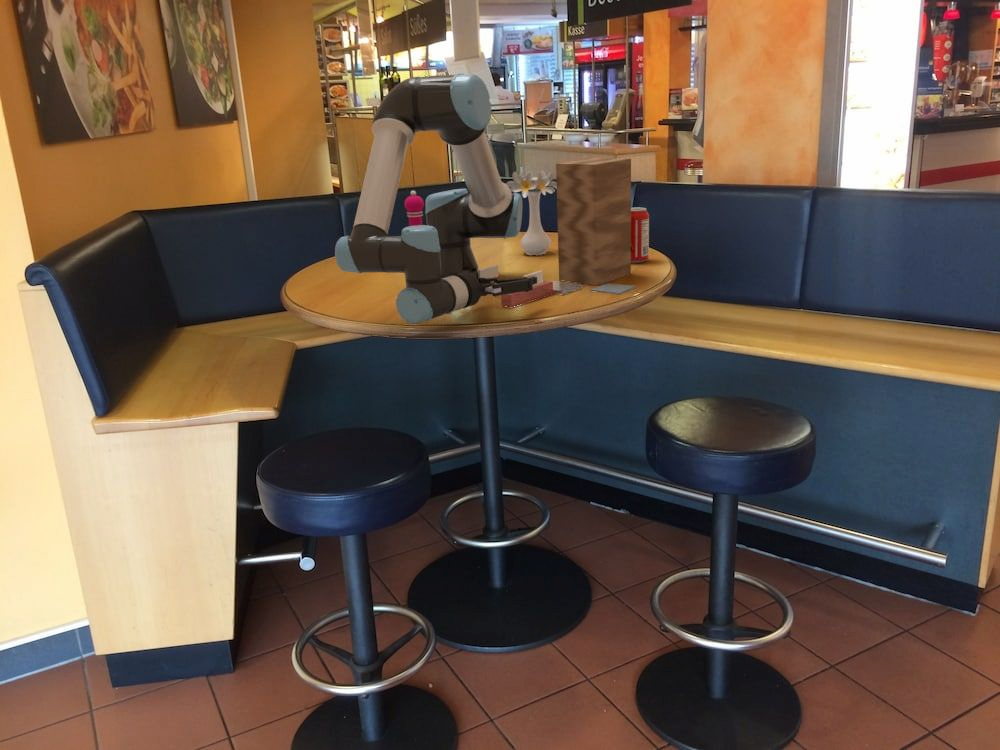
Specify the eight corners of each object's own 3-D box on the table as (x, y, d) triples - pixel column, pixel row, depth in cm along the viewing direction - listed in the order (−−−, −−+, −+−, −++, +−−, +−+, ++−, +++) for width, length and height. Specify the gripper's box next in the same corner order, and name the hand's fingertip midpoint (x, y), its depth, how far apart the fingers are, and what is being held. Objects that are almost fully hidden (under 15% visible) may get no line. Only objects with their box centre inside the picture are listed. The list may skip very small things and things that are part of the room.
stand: (559, 280, 219) (556, 163, 209) (593, 269, 230) (592, 157, 220) (596, 285, 211) (595, 164, 201) (630, 273, 222) (631, 158, 213)
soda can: (648, 264, 233) (648, 210, 228) (619, 264, 234) (619, 211, 230) (648, 258, 240) (649, 206, 235) (621, 258, 242) (621, 207, 237)
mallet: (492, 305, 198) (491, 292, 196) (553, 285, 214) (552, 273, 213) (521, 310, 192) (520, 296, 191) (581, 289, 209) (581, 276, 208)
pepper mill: (428, 255, 261) (423, 191, 254) (405, 256, 261) (399, 192, 255) (430, 251, 268) (425, 188, 261) (408, 252, 268) (403, 189, 262)
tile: (590, 293, 206) (590, 289, 206) (607, 286, 212) (607, 283, 211) (619, 296, 201) (619, 292, 201) (635, 289, 207) (635, 286, 207)
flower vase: (570, 255, 250) (568, 170, 242) (509, 259, 249) (505, 174, 241) (565, 247, 262) (563, 166, 254) (507, 251, 262) (503, 170, 254)
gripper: (418, 302, 190) (480, 283, 205) (501, 316, 174) (561, 295, 189) (416, 269, 187) (478, 253, 202) (500, 281, 172) (561, 262, 187)
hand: (518, 273), depth 196 cm, fingers open, 13 cm apart
